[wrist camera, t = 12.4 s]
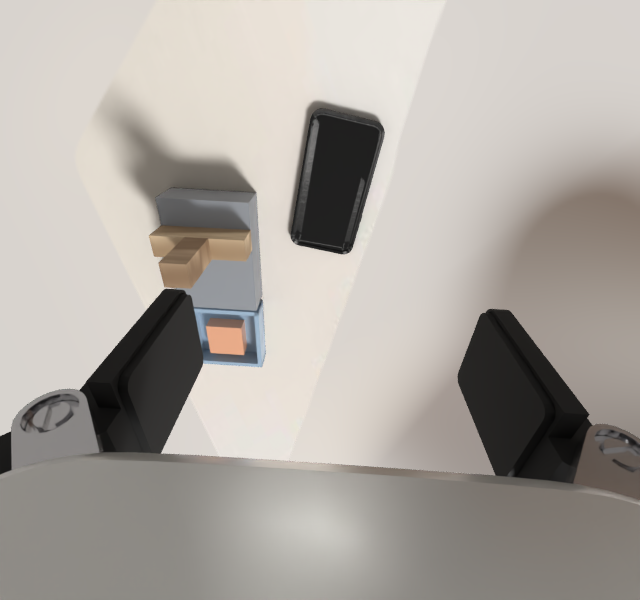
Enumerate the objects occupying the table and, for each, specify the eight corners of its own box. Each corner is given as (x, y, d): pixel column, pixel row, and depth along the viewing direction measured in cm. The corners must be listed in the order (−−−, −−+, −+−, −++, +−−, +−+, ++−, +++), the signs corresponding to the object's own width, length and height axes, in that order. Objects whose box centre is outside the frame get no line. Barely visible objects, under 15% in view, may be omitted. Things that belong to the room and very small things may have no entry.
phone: (289, 243, 41) (312, 106, 33) (290, 239, 42) (313, 105, 34) (351, 256, 42) (388, 124, 34) (350, 252, 43) (387, 123, 35)
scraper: (161, 224, 37) (116, 260, 30) (250, 229, 37) (228, 266, 29) (166, 245, 38) (124, 285, 31) (252, 250, 38) (231, 290, 31)
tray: (192, 296, 47) (183, 308, 44) (262, 300, 47) (258, 312, 44) (202, 349, 52) (195, 362, 50) (265, 353, 52) (262, 367, 50)
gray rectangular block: (170, 187, 39) (155, 197, 35) (256, 192, 39) (248, 202, 35) (190, 290, 46) (179, 306, 43) (262, 294, 46) (256, 310, 43)
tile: (210, 352, 49) (214, 344, 51) (244, 355, 49) (247, 346, 51) (205, 326, 47) (210, 317, 48) (241, 328, 47) (244, 319, 48)
